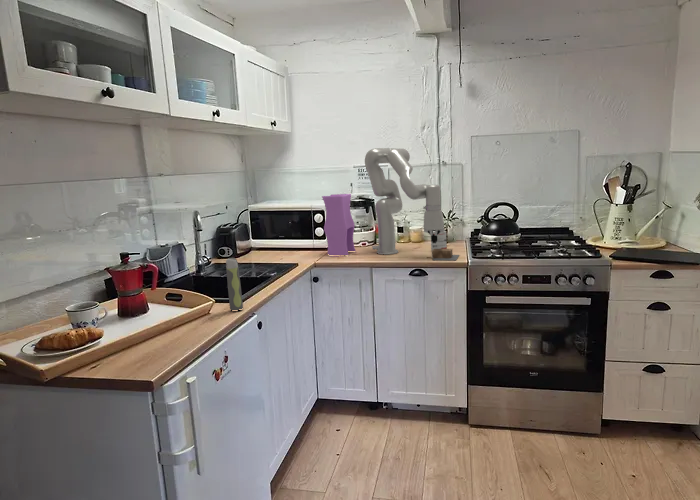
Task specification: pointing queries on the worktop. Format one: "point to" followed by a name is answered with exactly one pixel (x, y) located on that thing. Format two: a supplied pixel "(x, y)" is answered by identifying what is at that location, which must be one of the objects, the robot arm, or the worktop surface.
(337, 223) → the container
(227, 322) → the worktop surface
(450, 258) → the mat
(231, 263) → the grey green tall block
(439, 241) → the ink box
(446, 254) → the walnut block
